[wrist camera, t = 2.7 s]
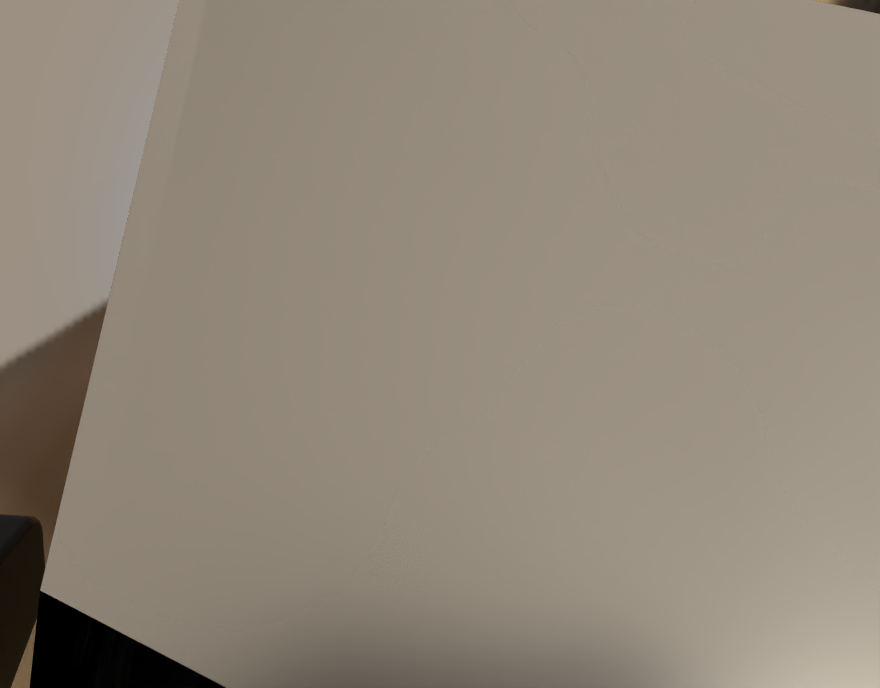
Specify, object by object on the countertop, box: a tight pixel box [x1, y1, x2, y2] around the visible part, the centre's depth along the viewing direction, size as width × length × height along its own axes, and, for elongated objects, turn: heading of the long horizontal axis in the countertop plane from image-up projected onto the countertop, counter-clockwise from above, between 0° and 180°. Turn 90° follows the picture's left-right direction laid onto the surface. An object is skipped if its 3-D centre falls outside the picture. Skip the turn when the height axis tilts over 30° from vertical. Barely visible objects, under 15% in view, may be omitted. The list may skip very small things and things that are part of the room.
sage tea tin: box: [30, 0, 880, 688], centre depth 9 cm, size 5×5×14 cm
